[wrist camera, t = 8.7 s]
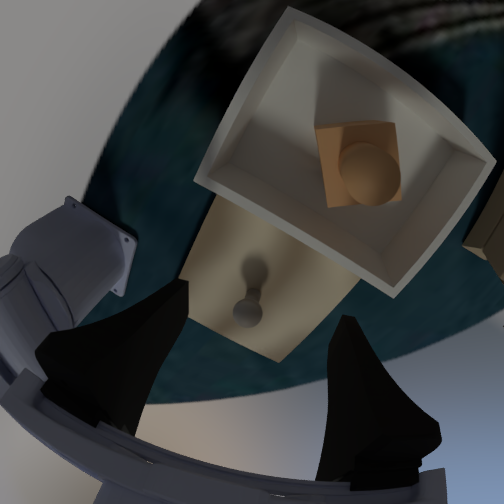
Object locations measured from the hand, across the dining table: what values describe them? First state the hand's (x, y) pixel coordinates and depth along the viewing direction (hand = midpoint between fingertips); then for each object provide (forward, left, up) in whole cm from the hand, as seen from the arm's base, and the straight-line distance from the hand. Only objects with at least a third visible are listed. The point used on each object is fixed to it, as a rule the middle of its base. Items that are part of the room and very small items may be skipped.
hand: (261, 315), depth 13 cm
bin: (+1, +8, -10) cm, 12 cm away
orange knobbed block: (+1, +8, -9) cm, 12 cm away
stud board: (+1, -5, -10) cm, 11 cm away
